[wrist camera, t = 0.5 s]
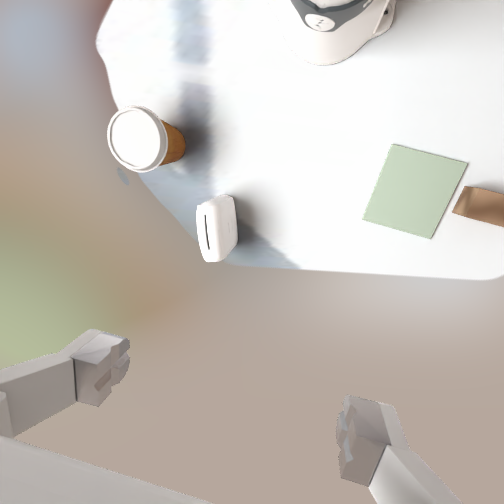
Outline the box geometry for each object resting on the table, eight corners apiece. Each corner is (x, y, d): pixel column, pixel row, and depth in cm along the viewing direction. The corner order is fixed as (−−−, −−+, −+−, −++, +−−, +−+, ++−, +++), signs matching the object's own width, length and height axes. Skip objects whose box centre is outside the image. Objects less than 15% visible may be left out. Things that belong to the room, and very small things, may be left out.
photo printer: (240, 245, 57) (223, 266, 45) (219, 246, 57) (197, 266, 46) (235, 193, 54) (216, 201, 42) (213, 194, 55) (189, 203, 43)
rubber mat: (391, 144, 47) (392, 144, 46) (465, 163, 45) (467, 163, 45) (361, 219, 51) (362, 219, 50) (429, 238, 50) (430, 239, 49)
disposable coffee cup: (136, 139, 54) (92, 133, 43) (171, 105, 51) (133, 88, 40) (168, 180, 55) (132, 185, 44) (203, 149, 52) (175, 145, 41)
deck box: (464, 186, 47) (479, 188, 42) (520, 200, 46) (542, 204, 42) (451, 212, 48) (465, 216, 44) (506, 226, 47) (525, 232, 43)
